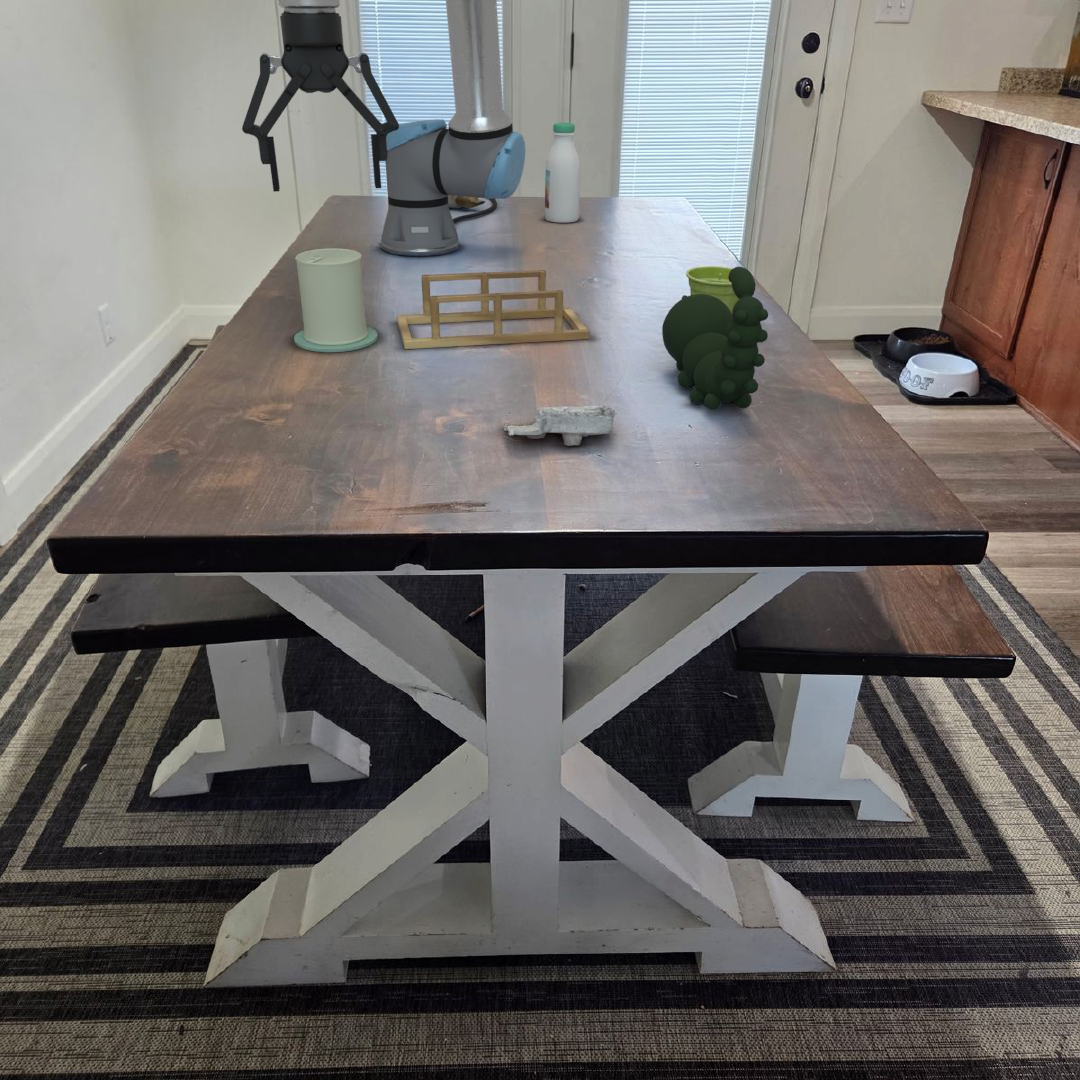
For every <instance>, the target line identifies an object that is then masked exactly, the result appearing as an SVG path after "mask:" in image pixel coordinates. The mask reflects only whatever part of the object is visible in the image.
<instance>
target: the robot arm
mask: <svg viewBox="0 0 1080 1080" xmlns="http://www.w3.org/2000/svg"><path fill="white" fill-rule="evenodd" d="M277 1H278V6H279V7H280V8H283V12H281V15H279V19H280V28H281V37H282V46H283V53H282V56H277V55H269V53H264V52H263V53H261V55H260V57H259V76H258V79H257V81H256V85H255V88H254V91H253V93H252V97H251V99H250V102H249V106H248V108H247V111H246V114H245V117H244V121H243V123H242V127H241V131H242V132H243V133H244V134H245V135H251V136H253V137H255V138H256V139H257V143H258V150H259V157H260V162H261V163H262V165H269V166H270V174H271V183H272V190H273V193H274V192H280V188H281V187H280V180H279V170H278V164H277V154H276V146H275V141H274V135H273V136H272V135H271V136H268V135H269V133H270V132H271V131H272V128H273V127H274V126H275V125H276V123H277V122H278V120H279V118H280V117H281V115H282V114H283V113H284V112H285V110H286V108H287V107H288V105H289V103H290V102H291V100H292V99H293V97H294V96H295V95H296V93H297V92H298V90H300V91H301V92H304V93H306V94H313V93H317V92H320V93H323V94H328V93H329V94H330V93H331V92H333V91H335V90H338V91H339V92H340V93H341V95H342V96H343V97H344V98H345V99H346V100H347V101H348V102H349V103H350V105H351V107H353V108H354V109H355V111H357V112H358V114H359V115H360V116H361V117H362V118H363V120H365V122H366V123H367V124H368V125H369V126H370V127H371V128H372V130H373V131H374V132H375V133H373V134H370V141H371V143H370V144H371V156H372V167H373V182H374V188H375V189H382V177H381V162H384V164H385V177H386V178H385V179H386V190H387V191H386V192H387V193H386V194H387V206H388V207H387V212H386V216H385V220H384V224H383V229H382V233H381V240H380V243H381V244H380V245H381V249H382V250H383V251H384V252H385V253H388V254H392V255H397V256H406V257H430V256H441V255H446V254H450V253H453V252H455V251H457V250H458V249H459V248H460V241H459V239H460V238H459V235H458V232H457V229H456V225H455V223H457V222H460V221H464V220H469V219H473V218H477V217H482V216H483V215H487V214H489V213H491V212H493V211H494V210H495V209H496V208H497V205H498V202H497V200H498V199H499V200H505V199H508V198H510V197H511V196H513V195H514V193H515V192H516V190H517V189H518V187H519V185H520V182H521V179H522V176H523V172H524V167H525V160H526V142H525V139H524V136H523V134H521V133H520V132H518V131H514V128H513V118H512V117H511V116H510V115H509V114H508V113H507V112H506V111H505V110H504V100H503V86H502V85H503V83H502V67H501V52H500V51H501V50H500V35H499V18H498V17H499V16H498V15H499V14H498V2H497V1H498V0H445V9H446V19H447V31H448V41H449V53H450V63H451V74H452V87H453V96H454V108H455V113H454V115H453V116H452V117H451V119H450V120H449V121H448V125H447V123H446V120H445V119H437V118H436V119H425V120H416V121H409V122H402V123H399V122H398V120H397V118H396V116H395V114H394V112H393V110H392V109H391V106H390V105H389V103H388V101H387V99H386V98H385V96H384V94H383V92H382V90H381V88H380V86H379V84H378V83H377V80H376V79H375V76H374V74H373V73H372V67H371V61H370V57H369V56H368V54H367V53H366V52H360V53H359V54H355V55H348V56H347V54H346V51H345V49H344V48H345V46H344V34H343V23H342V16H341V15H340V13H339V12H336V11H337V10H336V9H337V8H339V7H340V6H341V2H340V1H341V0H277ZM349 66H351V67H353V68H354V70H355V72H356V73H357V74H361V75H362V77H363V79H364V81H365V83H366V85H367V87H368V89H369V90H370V93H371V94H372V97H373V98H374V100H375V103H376V104H377V106H378V107H379V110H380V111H381V113H382V115H383V117H384V118H385V120H386V121H384V122H382V123H381V121H380V120H379V119H378V118H377V117H376V116H375V114H374V113H373V112H372V111H371V110H370V109H369V107H368V106H367V105H366V104H365V103H364V102H363V100H362V99H361V98H360V97H359V96H358V95H357V94H356V93H355V91H354V90H353V89H352V88H351V87H350V86H349V84H348V83H347V82H346V81H345V80H344V78H343V77H344V76H345V74H346V72H347V70H348V68H349ZM280 67H282V68H283V70H284V71H285V72H286V74H287V75H288V76H289V78H290V80H289V82H288V83H287V85H286V86H285V87H284V89H283V91H282V93H281V94H280V95H279V97H278V98H277V100H276V101H275V103H274V104H273V106H272V107H271V109H270V110H269V112H268V113H267V115H266V116H265V118H264V119H263V121H262V122H261V124H260V125H258V124H255V122H256V119H257V116H258V113H259V110H260V108H261V107H260V106H261V105H262V101H263V98H264V95H265V92H266V90H267V87H268V84H269V80H270V77H271V75H275V74H276V73H277V70H278V68H280ZM447 127H448V128H447ZM448 195H453V196H466V197H477V198H478V199H486V200H491V201H492V205H491V206H489V207H488V208H486V209H483V210H480V211H477V212H473V213H468V214H464V215H459V216H456V217H454V218H453V217H452V214H451V211H450V208H449V206H448Z"/></svg>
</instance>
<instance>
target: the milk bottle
mask: <svg viewBox="0 0 1080 1080" xmlns="http://www.w3.org/2000/svg"><path fill="white" fill-rule="evenodd" d="M575 129H576V126H575V124H574V123H573V122H572V123H571V122H556V123H553V125H552V131H553V133H552V135H553V140H552V141H553V142H552V145H551V148H550V151H549V152H548V155H547V158H546V162H545V175H544V176H545V177H544V180H545V181H544V218H545V220H546V221H547V222H552V223H560V224H561V223H562V224H563V223H567V224H568V223H574V222H578V221H579V219H580V202H581V201H580V200H581V199H580V197H581V161H580V157H579V154H578V151H577V149H576V146H575V140H574V136H575Z"/></svg>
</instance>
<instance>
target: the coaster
mask: <svg viewBox="0 0 1080 1080" xmlns="http://www.w3.org/2000/svg"><path fill="white" fill-rule="evenodd" d="M367 331H368V336H367V337H366V338H365V339H363V340H361V341H359V342H356V343H352V344H346V345H335V346H328V345H318V344H313V343H310V342H308V341H306V340H305V338H304V329H302V330H300V331H298V332H297V333H296V334H295V335H294V337H293V341H294V344H295V345H296V346H297V347H299V348H300V349H302V350H306V351H311V352H316V353H318V352H319V353H343V352H350V351H351V352H352V351H357V350H361V349H364V348H367V347H369V346H371V345H374V344H375V343H376V342H377V341H378V339H379V335H378V332H377V331H376V330H375V329H374V328H373V327H370V326H367Z"/></svg>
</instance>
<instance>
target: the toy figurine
mask: <svg viewBox="0 0 1080 1080" xmlns="http://www.w3.org/2000/svg"><path fill="white" fill-rule="evenodd" d="M728 279H729V281H730V282H731V284H732V288H733V291H734V293H735V295H736V296H737V297H738V298H739V300H738V301H737V302H736V303H735V305H734V307H733V310H732V313H731V311H730V309H729V308H728V307H727V305H726V304H725V303H723V302H722V301H721V300H719V299H718V298H716V297H713V296H711V295H707V294H694V295H691V294H690V295H682V297H681V299H680V300H678V301H677V302H675V304H674V305H673V306H671V308H670V310H669V311H668V312H667V314H666V316H665V317H664V320H663V323H662V326H661V331H662V332H661V334H662V335H661V336H662V342H663V345H664V347H665V350H666V351H667V353H668V355H669V356H670V357H671V358H672V359H673V360H674V361H675V365H676V369H677V371H679V373H678V374H677V383H678V386H680V387H681V388H683V389H685V390H690V393H689V400H690V402H691V403H692V404H694V405H699V404H704V406H705V407H706V408H707V409H708V410H711V411H712V410H713V411H716V410H718V409H719V408H720V407H721V405H722V403H734V405H735V406H736V407H737V408H739V409H747V408H749V407H750V405H751V404H752V395H751V394H754V393H756V392H757V391H758V389H759V383H758V382H757V379H755V378H754V376H755V371H756V367H757V368H758V367H762V366H763V365H764V364H765V361H766V359H765V356H764V355H763V354H762V353H759V348H758V344H759V343H763V342H766V341H767V340H768V337H769V335H768V331H767V330H765V329H763V326H762V323H761V322H763V321H766V320H767V319H768V318H769V312H768V310H767V309H766V308H765V307H764V305H763V303H762V302H761V301H760V300H759V299H758V298H757V297H755V296H754V295H755V292H756V280H755V277H754V276H753V274H752V273H751V272H750V271H749V270H748V269H747V268H746V267H743V266H735V267H734V268H733V267H732V270H731V271H730V273H729V277H728Z"/></svg>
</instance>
